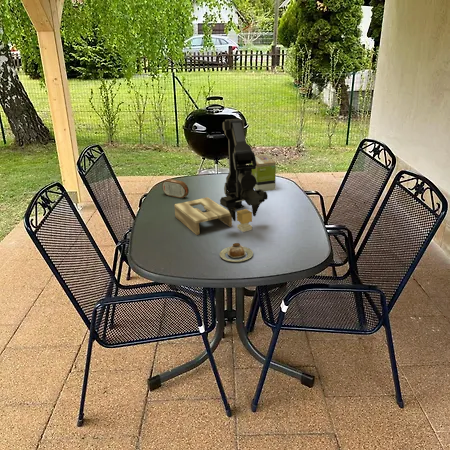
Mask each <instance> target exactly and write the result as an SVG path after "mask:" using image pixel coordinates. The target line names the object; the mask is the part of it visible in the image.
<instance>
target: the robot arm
mask: <svg viewBox="0 0 450 450" xmlns="http://www.w3.org/2000/svg"><path fill="white" fill-rule="evenodd" d="M222 130H223V131H224V135H225V136H226V138H227V140H228V169H229V170H228V171H229V172H228V174H227V175H226V178H225V183H224V187H223V191H224V195H225V196H222V197H221V198H220V200H219V205H220V206H222V207H224V208H225V209H227V210H228V211H229V212H230V214H231V216H232V222H236V221H237V213H236V209H241V208H244V205H243V202H244V201H245V203H246V204H247V205H248V206H251V212H252V217H256V215H257V213H258V210H259V207H260V205H261V204H262V203H264V202H265V201H266V200H268V198H269V197H268V196H269V195H268V193H267V191H263V190H261V189H258V190H255V188H254V187H255V185H256V178H255V177H254V175H253V174H252V169H256V165H257V163H256V158H255V156H256V154H255V152H254V151H253V150H252V149H253V148H252V147H251V145H250V144H248V143H247V140H246V137H245V132H244V130H245V120H243V119H241V118H231V119H229V118H227V119H225V120H223V122H222ZM251 161H252V162H251ZM251 163H252V164H251ZM249 164H250V165H249Z"/></svg>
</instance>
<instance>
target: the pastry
mask: <svg viewBox="0 0 450 450" xmlns="http://www.w3.org/2000/svg"><path fill="white" fill-rule="evenodd" d="M226 254H227V255H228V256H229V257H230V258H232V259H230V258H228V257H226ZM246 254H247V255H246ZM253 255H254V251H253V250H252V249H250V248H249V247H247V246H243V245H241V244H240V243H239V242H234V243H232V245H231V246H228V247H225V248H223V249H222V250H220V252H219V257H220V258H221V259H223V260H224V261H226V262H231V263H239V262H244V261H247V260H249V259H251V258H252V257H253ZM244 256H245V258H242V257H244ZM239 258H242V259H239Z"/></svg>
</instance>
